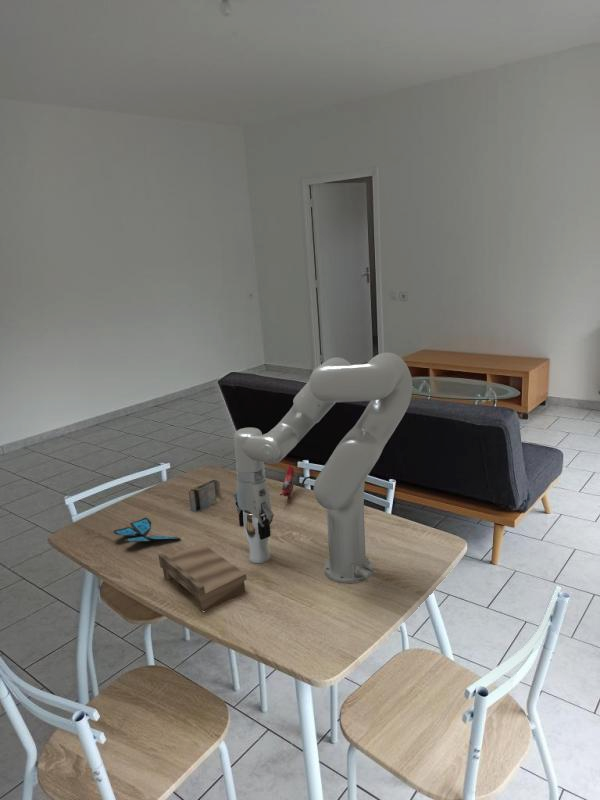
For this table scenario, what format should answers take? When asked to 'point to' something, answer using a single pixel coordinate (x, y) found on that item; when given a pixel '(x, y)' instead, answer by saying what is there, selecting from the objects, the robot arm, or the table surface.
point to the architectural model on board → (204, 494)
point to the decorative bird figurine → (288, 483)
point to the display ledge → (204, 575)
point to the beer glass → (255, 539)
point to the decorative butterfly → (140, 531)
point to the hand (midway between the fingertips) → (254, 531)
